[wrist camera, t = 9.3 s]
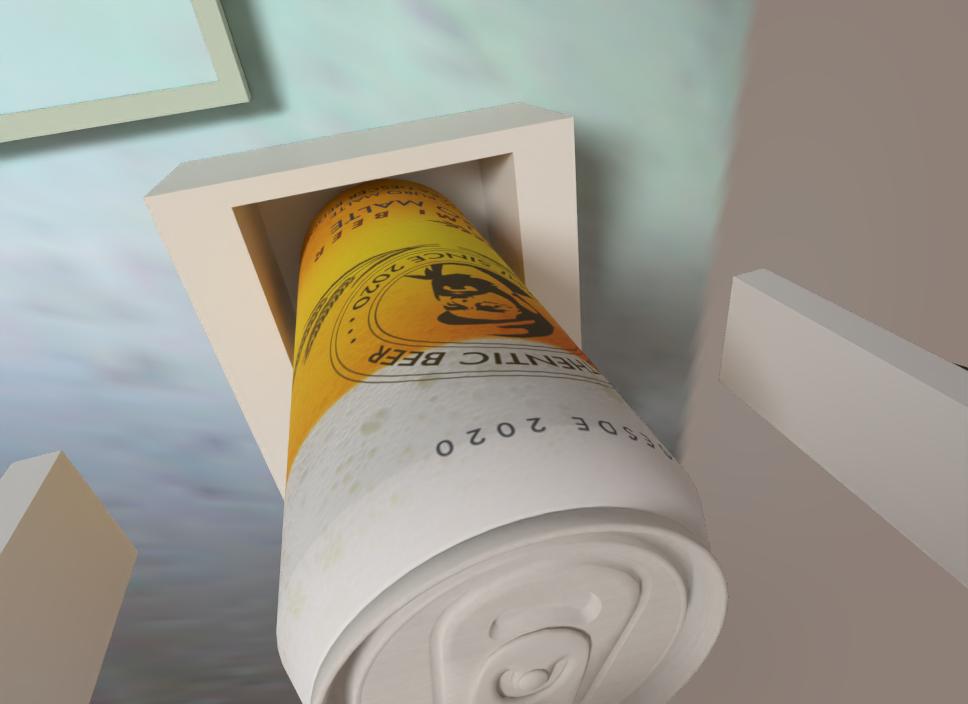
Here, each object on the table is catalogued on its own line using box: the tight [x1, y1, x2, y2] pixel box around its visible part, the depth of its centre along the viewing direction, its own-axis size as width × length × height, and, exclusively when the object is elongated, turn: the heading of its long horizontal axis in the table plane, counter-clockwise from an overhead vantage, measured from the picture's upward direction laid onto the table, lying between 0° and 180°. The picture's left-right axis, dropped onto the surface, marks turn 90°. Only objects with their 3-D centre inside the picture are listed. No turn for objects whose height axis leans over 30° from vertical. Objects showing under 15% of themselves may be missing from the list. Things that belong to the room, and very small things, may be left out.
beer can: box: [277, 179, 729, 704], centre depth 13 cm, size 6×6×15 cm
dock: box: [143, 102, 582, 501], centre depth 20 cm, size 19×11×4 cm, turn 7°
